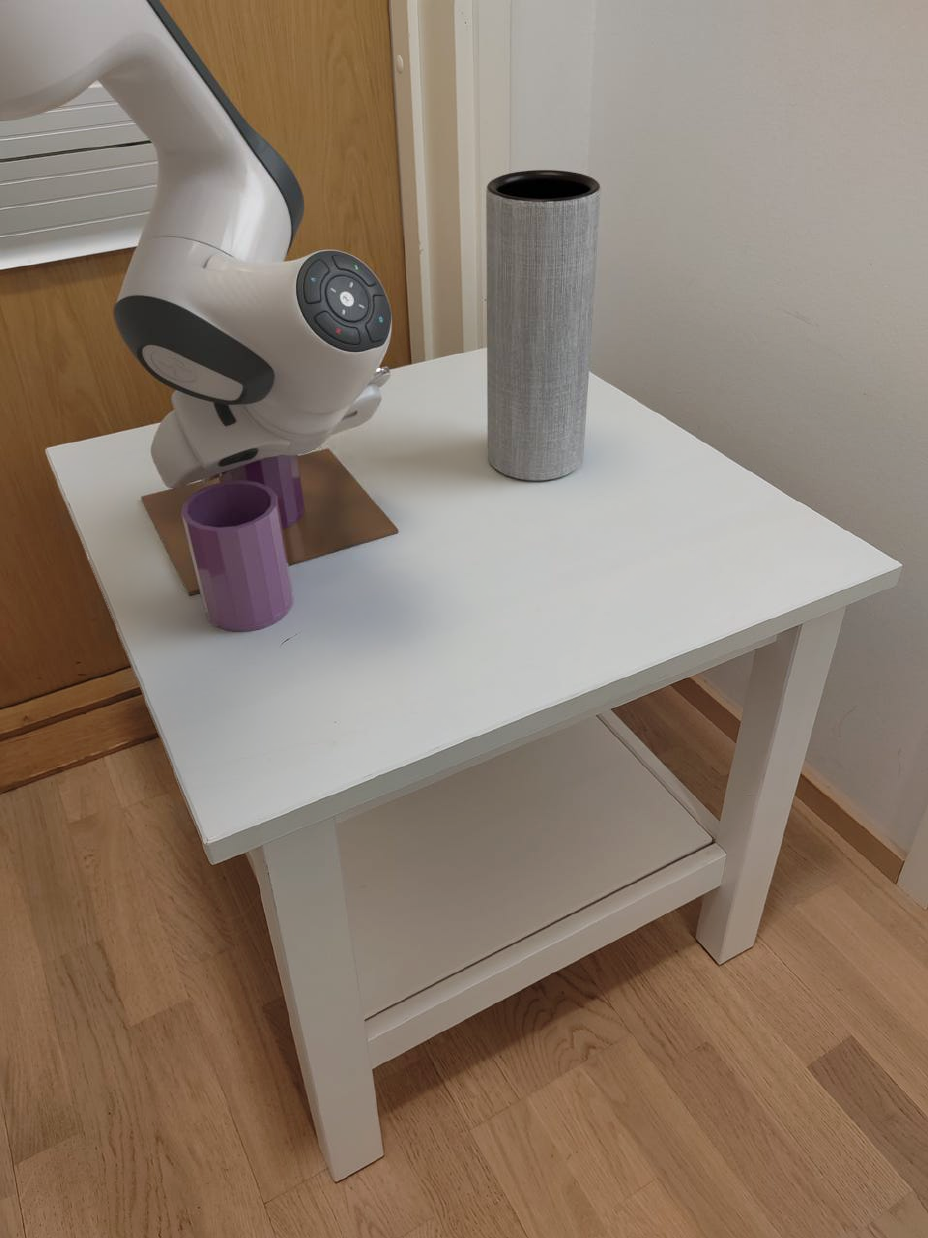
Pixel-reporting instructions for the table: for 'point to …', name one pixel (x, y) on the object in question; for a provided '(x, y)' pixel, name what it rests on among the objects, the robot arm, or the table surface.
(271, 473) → the plum cup
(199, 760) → the table surface
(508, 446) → the vase
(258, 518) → the mauve cup
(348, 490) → the placemat
